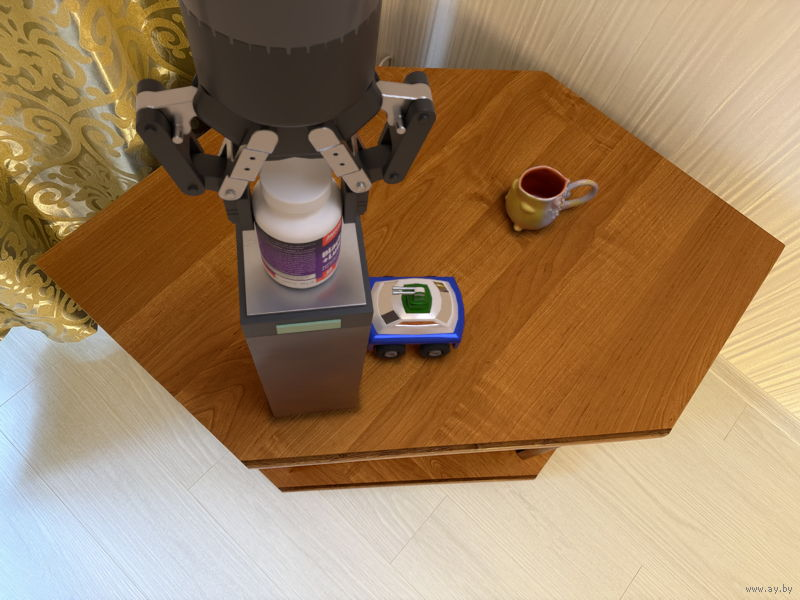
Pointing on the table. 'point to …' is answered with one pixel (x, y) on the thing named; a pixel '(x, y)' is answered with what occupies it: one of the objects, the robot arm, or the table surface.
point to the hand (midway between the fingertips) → (298, 213)
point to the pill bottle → (298, 220)
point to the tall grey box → (307, 328)
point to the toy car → (415, 315)
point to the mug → (542, 197)
